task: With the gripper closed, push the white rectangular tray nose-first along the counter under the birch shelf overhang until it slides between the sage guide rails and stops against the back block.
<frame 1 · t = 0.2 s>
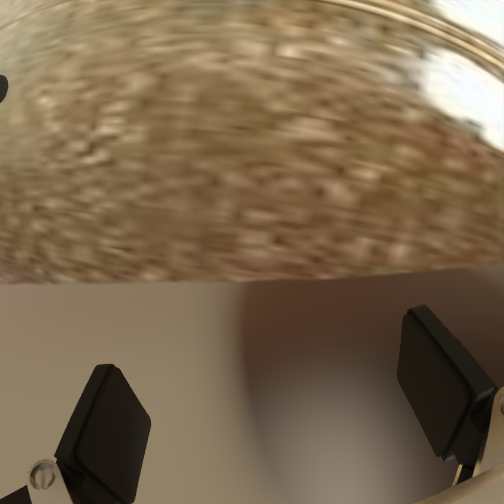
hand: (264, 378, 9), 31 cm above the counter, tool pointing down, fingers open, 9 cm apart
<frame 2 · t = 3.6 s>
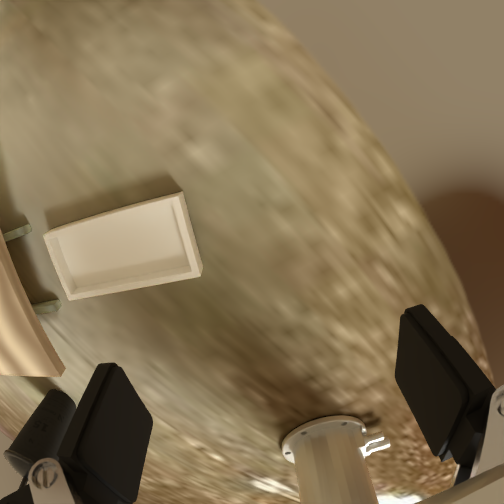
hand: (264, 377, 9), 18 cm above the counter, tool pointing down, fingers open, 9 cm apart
drinking cup: (62, 400, 35), on the counter
white rectangular tray: (121, 246, 27), on the counter
shelf: (16, 273, 27), on the counter
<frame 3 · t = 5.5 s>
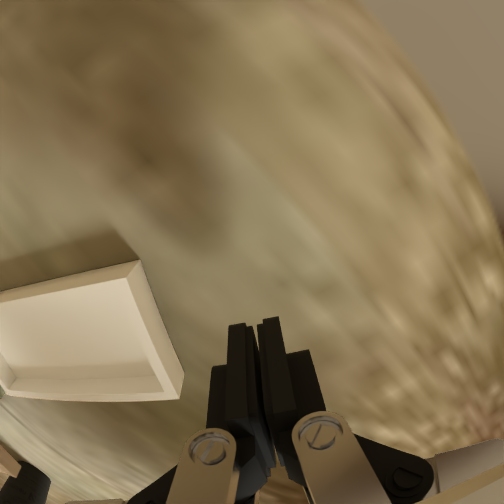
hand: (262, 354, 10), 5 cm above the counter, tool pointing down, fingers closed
drinking cup: (35, 471, 23), on the counter
white rectangular tray: (60, 335, 15), on the counter
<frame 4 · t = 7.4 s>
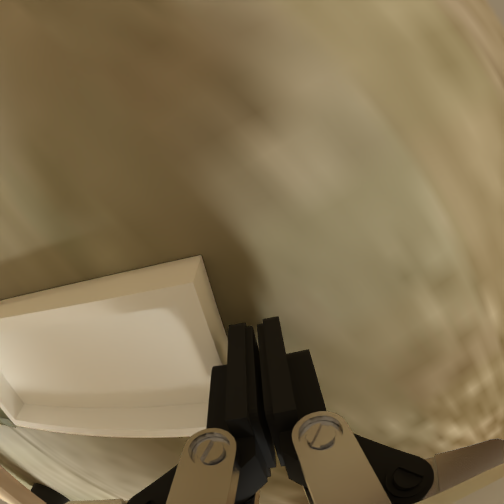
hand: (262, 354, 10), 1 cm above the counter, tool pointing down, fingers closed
drinking cup: (53, 493, 20), on the counter
white rectangular tray: (80, 356, 12), on the counter, touching gripper
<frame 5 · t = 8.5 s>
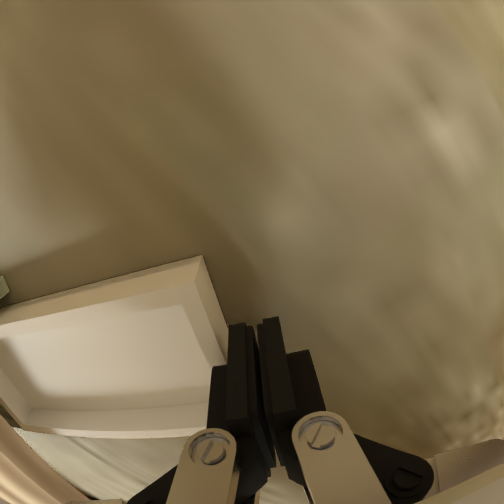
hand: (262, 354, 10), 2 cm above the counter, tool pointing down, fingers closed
drinking cup: (97, 503, 20), on the counter
white rectangular tray: (86, 359, 12), on the counter, touching gripper
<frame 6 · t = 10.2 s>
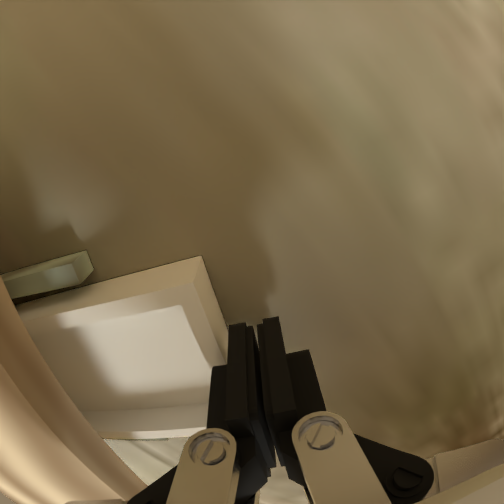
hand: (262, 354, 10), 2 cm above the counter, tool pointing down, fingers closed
white rectangular tray: (86, 360, 12), on the counter, touching gripper
shelf: (49, 359, 12), on the counter
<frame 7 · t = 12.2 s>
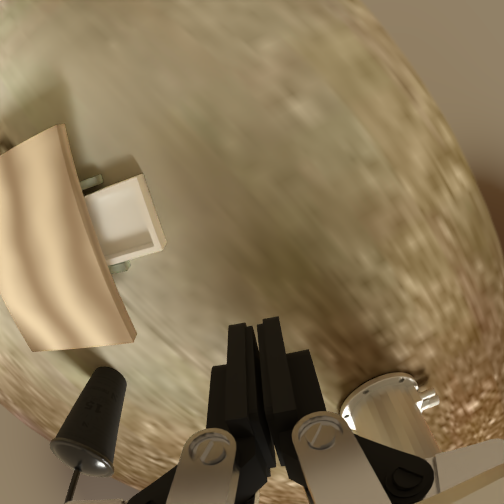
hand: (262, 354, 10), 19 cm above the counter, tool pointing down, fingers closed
drinking cup: (110, 378, 36), on the counter
white rectangular tray: (93, 229, 28), on the counter
shelf: (75, 232, 28), on the counter
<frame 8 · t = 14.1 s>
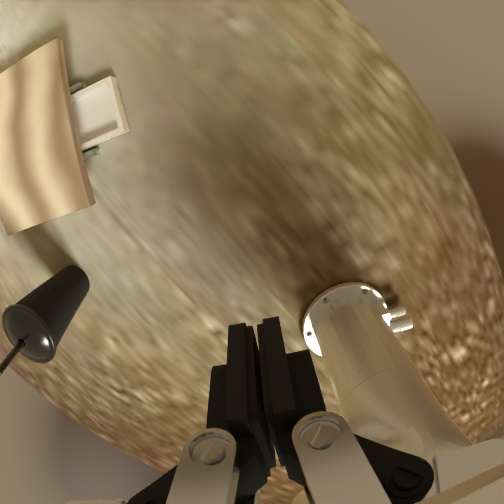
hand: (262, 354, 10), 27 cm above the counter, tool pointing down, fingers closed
drinking cup: (76, 280, 39), on the counter
white rectangular tray: (74, 126, 31), on the counter
shelf: (60, 131, 31), on the counter
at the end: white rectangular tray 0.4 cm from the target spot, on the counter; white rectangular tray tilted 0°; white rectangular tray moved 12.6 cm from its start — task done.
